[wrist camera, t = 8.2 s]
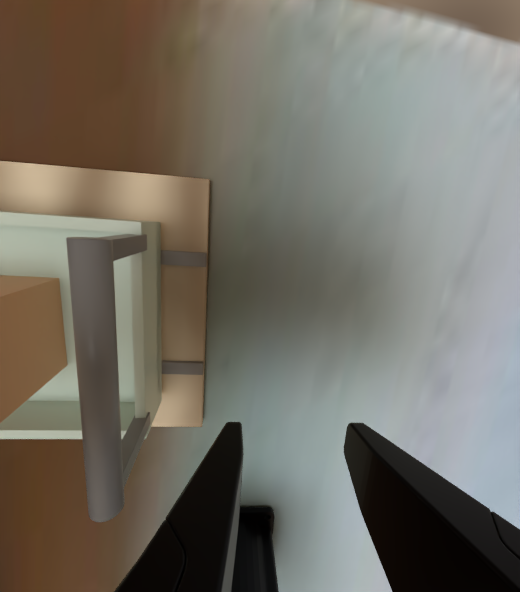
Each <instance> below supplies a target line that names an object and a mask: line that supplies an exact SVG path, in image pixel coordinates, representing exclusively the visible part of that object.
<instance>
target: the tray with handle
mask: <svg viewBox="0 0 520 592" xmlns="http://www.w3.org/2000/svg"><path fill="white" fill-rule="evenodd" d="M0 275H7V276H28V277H49V278H59V282H60V292H61V302H62V313H63V323H64V334H65V344H66V354H67V366H66V367H65V368H64V369H63V370H61V371H60V372H59V373H58V374H57V375H56V376H54V377H53V378H52V379H51V380H50V381H49V382H47V383H46V384H45V385H44V386H43V387H42V388H40V389H39V390H38V391H37V392H36V393H35V394H34V395H32V396H31V397H30V398H29V399H28V400H27V401H25V402H24V403H23V404H22V405H21V406H20V407H18V408H17V409H16V410H15V411H14V412H13V413H11V414H10V415H9V416H8V417H7V418H6V419H4V420H3V421H2V422H1V423H0V439H83V451H84V463H85V475H86V487H87V500H88V512H89V517H90V518H91V520H93V521H95V522H104V521H108V520H110V519H112V518H114V517H115V516H116V515H117V514H118V513H119V512H120V511H121V510H122V508H123V506H124V486H125V484H126V481H127V479H128V476H129V474H130V472H131V469H132V467H133V464H134V462H135V459H136V457H137V455H138V452H139V450H140V447H141V445H142V443H143V440H144V439H146V438H147V435H148V433H149V430H150V428H151V425H152V423H153V420H154V418H155V416H156V413H157V411H158V408H159V406H160V403H161V401H162V357H161V223H160V222H155V221H141V220H127V219H113V218H99V217H86V216H72V215H58V214H44V213H30V212H17V211H3V210H0ZM121 439H122V440H121Z"/></svg>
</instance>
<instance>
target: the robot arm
mask: <svg viewBox="0 0 520 592" xmlns="http://www.w3.org/2000/svg"><path fill="white" fill-rule="evenodd" d="M344 455H345V459H346V462H347V466H348V469H349V472H350V476H351V479H352V483H353V486H354V490H355V493H356V497H357V500H358V503H359V507H360V510H361V513H362V515H363V518H364V521H365V523H366V526H367V528H368V531H369V534H370V536H371V539H372V541H373V544H374V546H375V549H376V551H377V554H378V556H379V559H380V561H381V564H382V566H383V569H384V571H385V574H386V576H387V579H388V581H389V584H390V586H391V589H392V591H393V592H520V529H518V528H517V527H515V526H514V525H512V524H511V523H509V522H508V521H506V520H505V519H503V518H502V517H500V516H499V515H498V514H496V513H495V512H491V511H490V510H489V508H487V507H486V506H484V505H483V504H481V503H480V502H478V501H477V500H475V499H474V498H472V497H471V496H469V495H468V494H467V493H465V492H464V491H462V490H461V489H459V488H458V487H456V486H455V485H453V484H452V483H450V482H449V481H447V480H446V479H445V478H443V477H442V476H440V475H439V474H437V473H436V472H434V471H433V470H431V469H430V468H428V467H427V466H425V465H424V464H422V463H421V462H420V461H418V460H417V459H415V458H414V457H412V456H411V455H409V454H408V453H406V452H405V451H403V450H402V449H400V448H399V447H398V446H396V445H395V444H393V443H392V442H390V441H389V440H387V439H386V438H384V437H383V436H381V435H380V434H378V433H377V432H375V431H374V430H373V429H371V428H370V427H368V426H367V425H365V424H364V423H350V424H348V426H347V431H346V437H345V444H344ZM242 468H243V436H242V424H241V423H240V422H227V423H226V424H225V426H224V427H223V429H222V431H221V432H220V434H219V435H218V437H217V438H216V440H215V442H214V443H213V445H212V446H211V448H210V449H209V451H208V453H207V454H206V456H205V457H204V459H203V460H202V462H201V464H200V465H199V467H198V468H197V470H196V471H195V473H194V475H193V476H192V478H191V479H190V481H189V482H188V484H187V486H186V487H185V489H184V490H183V492H182V493H181V495H180V497H179V498H178V500H177V501H176V503H175V504H174V506H173V508H172V509H171V511H170V512H169V514H168V515H167V517H166V520H164V521H163V523H162V525H161V526H160V528H159V529H158V531H157V532H156V534H155V536H154V537H153V539H152V540H151V541H150V543H149V544H148V546H147V547H146V549H145V550H144V552H143V553H142V555H141V556H140V558H139V559H138V561H137V562H136V563H135V565H134V566H133V567H132V569H131V570H130V571H129V573H128V574H127V575H126V577H125V578H124V579H123V581H122V582H121V583H120V584H119V586H118V587H117V588H116V590H115V591H114V592H279V591H278V583H277V575H276V566H275V558H274V550H273V541H272V534H273V524H274V512H273V509H272V508H269V507H261V508H240V497H241V482H242Z"/></svg>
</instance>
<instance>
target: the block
mask: <svg viewBox="0 0 520 592" xmlns="http://www.w3.org/2000/svg"><path fill="white" fill-rule="evenodd" d="M66 366H67V354H66V344H65V334H64V323H63V313H62V302H61V292H60V282H59V278H49V277H28V276H7V275H0V423H1V422H2V421H3V420H4V419H6V418H7V417H8V416H9V415H10V414H11V413H13V412H14V411H15V410H16V409H17V408H18V407H20V406H21V405H22V404H23V403H24V402H25V401H27V400H28V399H29V398H30V397H31V396H32V395H34V394H35V393H36V392H37V391H38V390H39V389H40V388H42V387H43V386H44V385H45V384H46V383H47V382H49V381H50V380H51V379H52V378H53V377H54V376H56V375H57V374H58V373H59V372H60V371H61V370H63V369H64V368H65V367H66Z"/></svg>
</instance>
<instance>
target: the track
mask: <svg viewBox="0 0 520 592" xmlns="http://www.w3.org/2000/svg"><path fill="white" fill-rule="evenodd" d="M209 205H210V180H209V179H201V178H190V177H178V176H167V175H155V174H144V173H133V172H121V171H110V170H98V169H87V168H76V167H64V166H53V165H42V164H30V163H19V162H7V161H0V210H3V211H17V212H30V213H44V214H58V215H72V216H86V217H99V218H113V219H127V220H141V221H155V222H160V223H161V357H162V401H161V403H160V406H159V408H158V411H157V413H156V416H155V418H154V420H153V423H152V425H151V427H202V423H203V403H204V370H205V337H206V304H207V271H208V238H209Z"/></svg>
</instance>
